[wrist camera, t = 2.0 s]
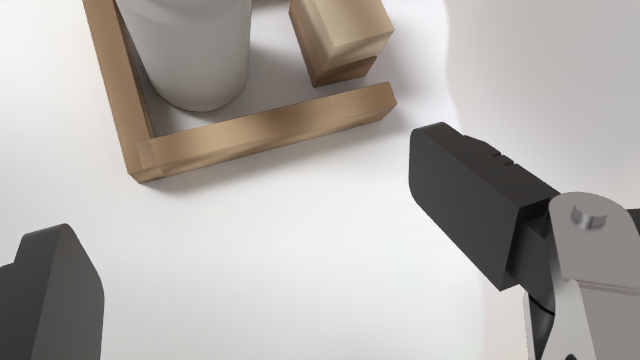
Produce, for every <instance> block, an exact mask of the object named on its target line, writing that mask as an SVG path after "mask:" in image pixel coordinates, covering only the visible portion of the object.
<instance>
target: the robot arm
mask: <svg viewBox="0 0 640 360" xmlns="http://www.w3.org/2000/svg"><path fill="white" fill-rule="evenodd" d="M409 187H410V191H411V194H412V196H413V198H414V200H415V201H416V203H417V204H418V205H419V206H420V207H421V208H422V209H423V210H424V211H425V212H426V214H427V215H428V216H429V217H430V218H431V219H432V220H433V221H434V222H435V223H436V224H437V225H438V226H439V227H440V228H441V230H442V231H443V232H444V233H445V234H446V235H447V236H448V237H449V238H450V239H451V240H452V241H453V242H454V243H455V244H456V245H457V247H458V248H459V249H460V250H461V251H462V252H463V253H464V254H465V255H466V256H467V257H468V258H469V259H470V260H471V261H472V262H473V264H474V265H475V266H476V267H477V268H478V269H479V270H480V271H481V272H482V273H483V274H484V275H485V276H486V277H487V278H488V279H489V280H490V282H491V283H492V284H493V285H494V286H495V287H496V288H497V289H498V290H499V291H503V290H505V289H507V288H510V287H512V286H515V285H518V284H520V285H521V286H522V287H523V288H524V289H525V293H524V297H523V307H524V317H525V328H526V338H527V348H528V359H529V360H640V209H626V210H625V209H624V208H623V207H622V206H620V205H619V204H617V203H616V202H614V201H612V200H610V199H607V198H605V197H602V196H599V195H595V194H591V193H584V192H568V193H563V194H561V193H559V192H558V191H557V190H555V189H553V188H552V187H551V186H549V185H548V184H546V183H545V182H543V181H542V180H540V179H539V178H537V177H536V176H534V175H533V174H532V173H530V172H529V171H527V170H526V169H524V168H523V167H521V166H520V165H518V164H514V161H512V160H511V159H510V158H508V157H506V156H505V155H501V152H499V151H498V150H496V149H495V148H493V147H492V146H490V145H489V144H488V143H486V142H484V141H481V140H478V139H475V138H472V137H469V136H466V135H464V136H463V135H462V134H460V133H459V132H458V131H456V130H455V129H453V128H452V127H451V126H449V125H448V124H446V123H444V122H439V123H435V124H431V125H428V126H424V127H420V128H417V129H414V130H413V131H412V133H411V136H410V153H409ZM103 315H104V291H103V286H102V283H101V280H100V277H99V275H98V273H97V271H96V269H95V268H94V266H93V264H92V262H91V261H90V259H89V257H88V255H87V254H86V252H85V250H84V248H83V246H82V245H81V243H80V241H79V239H78V238H77V236H76V234H75V232H74V231H73V229H72V228H71V227H70V226H69V225H68V224H66V223H64V224H60V225H57V226H53V227H49V228H46V229H42V230H38V231H35V232H31V233H27V234H25V235H24V236H23V237H22V239H21V242H20V245H19V248H18V251H17V254H16V257H15V260H14V263H11V264H8V265H4V266H1V268H0V360H100V354H101V341H102V328H103Z"/></svg>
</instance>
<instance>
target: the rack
mask: <svg viewBox="0 0 640 360" xmlns="http://www.w3.org/2000/svg"><path fill="white" fill-rule="evenodd" d="M82 1H83V5H84V9H85V13H86V16H87V20H88V24H89V28H90V32H91V35H92V39H93V43H94V47H95V50H96V54H97V58H98V62H99V66H100V69H101V73H102V77H103V81H104V85H105V88H106V92H107V96H108V100H109V104H110V107H111V111H112V115H113V119H114V122H115V126H116V130H117V134H118V138H119V141H120V145H121V149H122V153H123V157H124V160H125V164H126V168H127V172H128V174H129V175H130V176H132V177H133V178H134V179H135V180H136V181H137V182H138V183H139V184H141V183H145V182H149V181H152V180H156V179H160V178H164V177H168V176H171V175H175V174H179V173H183V172H186V171H190V170H194V169H198V168H202V167H205V166H209V165H213V164H217V163H220V162H224V161H228V160H232V159H235V158H239V157H243V156H247V155H251V154H254V153H258V152H262V151H266V150H269V149H273V148H277V147H281V146H285V145H288V144H292V143H296V142H300V141H303V140H307V139H311V138H315V137H318V136H322V135H326V134H330V133H334V132H337V131H341V130H345V129H349V128H352V127H356V126H360V125H364V124H368V123H371V122H375V121H379V120H382V119H383V118H384V117H385V116H386V115H387V114H388V113H389V112H390V111H391V110H392V109H393V108H394V106H395V105H396V104H397V102H396V100H395V97H394V94H393V91H392V89H391V86H390V83H389V82H385V83H380V84H376V85H372V86H368V87H364V88H360V89H356V90H352V91H347V92H343V93H339V94H335V95H331V96H327V97H323V98H318V99H314V100H310V101H306V102H302V103H298V104H294V105H289V106H285V107H281V108H277V109H273V110H269V111H265V112H260V113H256V114H252V115H248V116H244V117H240V118H236V119H231V120H227V121H223V122H219V123H215V124H211V125H207V126H202V127H198V128H194V129H190V130H186V131H182V132H178V133H174V134H169V135H165V136H161V137H157V138H155V136H154V132H153V128H152V125H151V121H150V118H149V114H148V110H147V107H146V103H145V100H144V96H143V92H142V89H141V85H140V82H139V78H138V74H137V71H136V67H135V63H134V60H133V56H132V53H131V49H130V45H129V42H128V38H127V35H126V31H125V27H124V24H123V20H122V14H121V12H120V10H119V8H118V5H117V3H116V1H115V0H82Z"/></svg>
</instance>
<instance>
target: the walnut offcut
mask: <svg viewBox="0 0 640 360" xmlns="http://www.w3.org/2000/svg"><path fill="white" fill-rule="evenodd" d="M288 13H289V16H290V19H291V22H292V25H293V28H294V31H295V34H296V37H297V40H298V43H299V46H300V49H301V52H302V55H303V58H304V61H305V64H306V67H307V70H308V73H309V76H310V79H311V82H312V85H313V88H314V87H319V86H323V85H328V84H332V83H337V82H341V81H345V80H350V79H354V78H359V77H363V76H365V75H366V73H367V72H368V70H369V69H370V67H371V66H372V64H373V63H374V61H375V60H376V58H377V57H376V56H372V57H369V58H366V59H362V60H359V61H356V62H352V63H349V64H346V65H342V66H339V67H335V68H332V69H329V70H325V71H324V70H323V67H322V65H321V62H320V60H319V58H318V55H317V53H316V51H315V48H314V46H313V44H312V41H311V39H310V37H309V34H308V32H307V30H306V27H305V25H304V22H303V20H302V18H301V15H300V13H299V11H298V8H297V6H296V4H295V1H294V0H291V3H290V8H289V12H288Z"/></svg>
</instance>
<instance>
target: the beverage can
mask: <svg viewBox="0 0 640 360" xmlns="http://www.w3.org/2000/svg"><path fill="white" fill-rule="evenodd" d="M115 1H116V3H117V5H118V8H119V10H120V12H121V14H122V17H123V19H124V21H125V24H126V26H127V28H128V30H129V33H130V35H131V37H132V40H133V42H134V44H135V46H136V49H137V51H138V53H139V56H140V58H141V60H142V62H143V65H144V67H145V69H146V72H147V74H148V76H149V78H150V81H151V83H152V85H153V87H154V88H155V90H156V91H157V92H158V93H159V95H160V96H162V97H163V98H164V99H165V100H166V101H168V102H169V103H171V104H172V105H174V106H177V107H179V108H182V109H185V110H189V111H209V110H214V109H217V108H220V107H222V106H224V105H226V104H228V103H229V102H231V101H232V100H233V99H234V98H235V97H236V96H237V95H238V94H239V93H240V91H241V90H242V88H243V86H244V84H245V81H246V78H247V73H248V58H249V43H250V27H251V11H252V0H115Z"/></svg>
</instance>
